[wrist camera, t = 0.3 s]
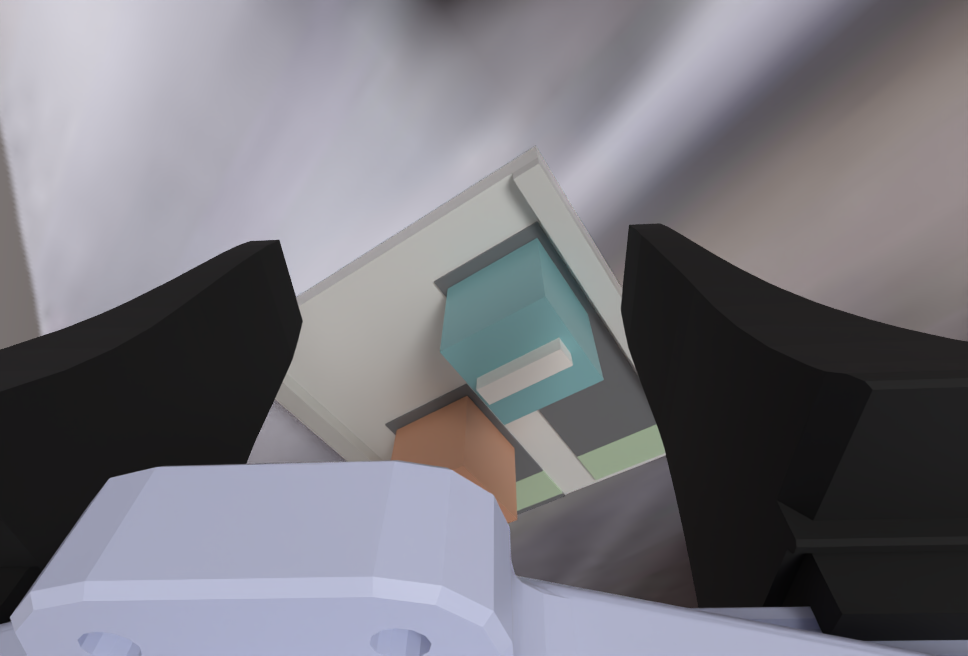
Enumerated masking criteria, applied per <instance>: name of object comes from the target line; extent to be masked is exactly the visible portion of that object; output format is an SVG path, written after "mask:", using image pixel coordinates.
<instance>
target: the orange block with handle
mask: <svg viewBox="0 0 968 656" xmlns="http://www.w3.org/2000/svg"><path fill="white" fill-rule="evenodd" d="M391 460H400V461H406V462H413V463H419V464H426V465H432V466H439V467H446V468H449V469H451V470H453V471H454V472H456V473H458V474H459V475H461V476H463V477H464V478H466V479H468V480H469V481H471V482H473V483H474V484H476V485H478V486H479V487H481V488H483V489H484V490H486V491H488V492H489V493H491V494H493V495H494V496H495V498H496V500H497V503H498V505H499V507H500V509H501V511H502V513H503V515H504V517H505V519H506V521H507V523H510V522H513V521H515V520H517V499H516V473H515V448H514V447H513V446H512V445H511V444H510V442H509V441H508V440H507V439H506V438H505V437H504V436H503V435H502V434H501V432H500V431H499V430H498V429H497V428H496V427H495V426H494V425H493V424H492V422H491V421H490V420H489V419H488V418H487V417H486V416H485V415H484V414H483V412H482V411H481V410H480V409H479V408H478V407H477V406H476V405H475V404H474V402H473V401H472V400H471V399H470V398H469V397H468V396H465V397H463V398H461V399H459V400H457V401H455V402H453V403H451V404H449V405H447V406H445V407H443V408H441V409H439V410H437V411H435V412H432V413H430V414H428V415H426V416H424V417H422V418H420V419H418V420H416V421H414V422H412V423H410V424H408V425H406V426H404V427H402V428H400V429H398V430H397V431H396V436H395V441H394V447H393V452H392V457H391Z"/></svg>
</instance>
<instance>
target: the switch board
mask: <svg viewBox="0 0 968 656" xmlns="http://www.w3.org/2000/svg"><path fill="white" fill-rule="evenodd" d="M536 238H538V240H539V241H540V243H541V244H542V246H543V247H544V249H545V250H546V252H547V253H548V255H549V256H550V258H551V259H552V261H553V262H554V264H555V265H556V267H557V268H558V270H559V271H560V273H561V274H562V276H563V277H564V279H565V280H566V282H567V283H568V285H569V286H570V288H571V289H572V291H573V292H574V294H575V296H576V297H577V299H578V300H579V302H580V303H581V305H582V306H583V308H584V309H585V311H586V312H587V314H588V317H589V321H590V325H591V329H592V333H593V337H594V342H595V346H596V350H597V354H598V358H599V362H600V366H601V371H602V375H603V379H604V380H603V381H600V382H598V383H596V384H594V385H592V386H589V387H587V388H585V389H583V390H581V391H578V392H576V393H574V394H572V395H570V396H567V397H565V398H563V399H561V400H559V401H556V402H554V403H552V404H550V405H548V406H545V407H543V408H541V409H539V410H537V411H534V412H532V413H530V414H528V415H526V416H523V417H521V418H519V419H517V420H515V421H512V422H510V423H508V424H506V425H504V424H503V423H502V422H501V421H500V420H499V419H498V417H497V416H496V415H495V414H494V413H493V412H492V411H491V410H490V408H489V407H488V406H487V405H486V404H485V403H484V402H483V401H482V399H481V398H480V397H479V396H478V395H477V394H476V393H475V391H474V390H473V389H472V388H471V387H470V386H469V385H468V384H467V382H466V381H465V380H464V379H463V378H462V377H461V376H460V375H459V373H458V372H457V371H456V370H455V369H454V368H453V367H452V365H451V364H450V363H449V362H448V361H447V360H446V359H445V358H444V356H443V355H442V354H441V353H440V346H441V338H442V330H443V322H444V314H445V306H446V298H447V291H448V288H450V287H452V286H453V285H455V284H457V283H459V282H460V281H462V280H464V279H466V278H467V277H469V276H471V275H473V274H474V273H476V272H478V271H480V270H481V269H483V268H485V267H487V266H488V265H490V264H492V263H494V262H495V261H497V260H499V259H501V258H502V257H504V256H506V255H508V254H509V253H511V252H513V251H515V250H516V249H518V248H520V247H522V246H523V245H525V244H527V243H529V242H530V241H532V240H534V239H536ZM622 290H623V289H622V288H621V286H620V285H619V283H618V281H617V280H616V278H615V276H614V275H613V273H612V271H611V270H610V268H609V266H608V265H607V263H606V261H605V260H604V258H603V256H602V255H601V253H600V251H599V250H598V248H597V246H596V245H595V243H594V241H593V240H592V238H591V236H590V235H589V233H588V232H587V230H586V228H585V227H584V225H583V223H582V222H581V220H580V218H579V217H578V215H577V213H576V212H575V210H574V208H573V207H572V205H571V203H570V202H569V200H568V198H567V197H566V195H565V193H564V192H563V190H562V188H561V187H560V185H559V183H558V182H557V180H556V179H555V177H554V175H553V174H552V172H551V170H550V169H549V167H548V165H547V164H546V162H545V160H544V159H543V157H542V155H541V154H540V152H539V150H538V149H537V147H536V146H535V147H533V148H532V149H530V150H528V151H527V152H525V153H524V154H522V155H520V156H519V157H517V158H516V159H514V160H513V161H511V162H509V163H508V164H506V165H505V166H503V167H501V168H500V169H498V170H497V171H495V172H494V173H492V174H490V175H489V176H487V177H486V178H484V179H483V180H481V181H479V182H478V183H476V184H475V185H473V186H471V187H470V188H468V189H467V190H465V191H464V192H462V193H460V194H459V195H457V196H456V197H454V198H452V199H451V200H449V201H448V202H446V203H445V204H443V205H441V206H440V207H438V208H437V209H435V210H433V211H432V212H430V213H429V214H427V215H426V216H424V217H422V218H421V219H419V220H418V221H416V222H415V223H413V224H411V225H410V226H408V227H407V228H405V229H403V230H402V231H400V232H399V233H397V234H396V235H394V236H392V237H391V238H389V239H388V240H386V241H384V242H383V243H381V244H380V245H378V246H377V247H375V248H373V249H372V250H370V251H369V252H367V253H365V254H364V255H362V256H361V257H359V258H358V259H356V260H354V261H353V262H351V263H350V264H348V265H347V266H345V267H343V268H342V269H340V270H339V271H337V272H335V273H334V274H332V275H331V276H329V277H328V278H326V279H324V280H323V281H321V282H320V283H318V284H316V285H315V286H313V287H312V288H310V289H309V290H307V291H305V292H304V293H302V294H301V295H299V296H297V297H296V299H297V303H298V306H299V310H300V313H301V316H302V320H303V323H302V327H301V331H300V335H299V339H298V343H297V346H296V350H295V353H294V357H293V360H292V362H291V364H290V367H289V369H288V371H287V373H286V376H285V378H284V380H283V382H282V384H281V387H280V389H279V391H278V393H277V395H276V397H275V400H276V401H277V402H278V403H280V404H281V405H282V406H283V407H284V408H285V409H287V410H288V411H289V412H290V413H291V414H292V415H294V416H295V417H296V418H297V419H298V420H299V421H301V422H302V423H303V424H304V425H305V426H306V427H308V428H309V429H310V430H311V431H312V432H313V433H315V434H316V435H317V436H318V437H319V438H320V439H322V440H323V441H324V442H325V443H326V444H327V445H329V446H330V447H331V448H332V449H333V450H334V451H336V452H337V453H338V454H339V455H340V456H341V457H343V458H344V459H345V460H346V461H385V460H391V457H392V452H393V447H394V441H395V436H396V431H397V430H398V429H400V428H402V427H404V426H406V425H408V424H410V423H412V422H414V421H416V420H418V419H420V418H422V417H424V416H426V415H428V414H430V413H432V412H435V411H437V410H439V409H441V408H443V407H445V406H447V405H449V404H451V403H453V402H455V401H457V400H459V399H461V398H463V397H465V396H468V397H469V398H470V399H471V400H472V401H473V402H474V404H475V405H476V406H477V407H478V408H479V409H480V410H481V411H482V412H483V414H484V415H485V416H486V417H487V418H488V419H489V420H490V421H491V422H492V424H493V425H494V426H495V427H496V428H497V429H498V430H499V431H500V432H501V434H502V435H503V436H504V437H505V438H506V439H507V440H508V441H509V442H510V444H511V445H512V446H513V447H514V448H515V473H516V499H517V515H518V514H521V513H523V512H526V511H528V510H531V509H533V508H536V507H539V506H541V505H544V504H546V503H549V502H551V501H554V500H557V499H559V498H562V497H564V496H565V494H568V493H570V492H573V491H575V490H578V489H580V488H583V487H586V486H588V485H591V484H593V483H596V482H598V481H601V480H604V479H606V478H609V477H611V476H614V475H616V474H619V473H621V472H624V471H627V470H629V469H632V468H634V467H637V466H639V465H642V464H645V463H647V462H650V461H652V460H655V459H657V458H660V457H662V456H665V455H666V453H665V449H664V446H663V442H662V439H661V436H660V433H659V430H658V427H657V424H656V422H655V419H654V416H653V414H652V411H651V408H650V406H649V403H648V400H647V398H646V395H645V392H644V390H643V387H642V384H641V382H640V379H639V376H638V374H637V371H636V368H635V365H634V363H633V360H632V357H631V354H630V351H629V348H628V344H627V340H626V335H625V330H624V325H623V320H622V315H621V300H622Z"/></svg>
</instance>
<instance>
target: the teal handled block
mask: <svg viewBox="0 0 968 656" xmlns="http://www.w3.org/2000/svg"><path fill="white" fill-rule="evenodd" d="M440 353H441V354H442V355H443V356H444V358H445V359H446V360H447V361H448V362H449V363H450V364H451V365H452V367H453V368H454V369H455V370H456V371H457V372H458V373H459V375H460V376H461V377H462V378H463V379H464V380H465V381H466V382H467V384H468V385H469V386H470V387H471V388H472V389H473V390H474V391H475V393H476V394H477V395H478V396H479V397H480V398H481V399H482V401H483V402H484V403H485V404H486V405H487V406H488V407H489V408H490V410H491V411H492V412H493V413H494V414H495V415H496V416H497V417H498V419H499V420H500V421H501V422H502V423H503V424H504V425H506V424H508V423H510V422H512V421H515V420H517V419H519V418H521V417H523V416H526V415H528V414H530V413H532V412H534V411H537V410H539V409H541V408H543V407H545V406H548V405H550V404H552V403H554V402H556V401H559V400H561V399H563V398H565V397H567V396H570V395H572V394H574V393H576V392H578V391H581V390H583V389H585V388H587V387H589V386H592V385H594V384H596V383H598V382H600V381H603V380H604V379H603V375H602V371H601V366H600V362H599V358H598V354H597V350H596V346H595V342H594V337H593V333H592V329H591V325H590V321H589V317H588V314H587V312H586V311H585V309H584V308H583V306H582V305H581V303H580V302H579V300H578V299H577V297H576V296H575V294H574V292H573V291H572V289H571V288H570V286H569V285H568V283H567V282H566V280H565V279H564V277H563V276H562V274H561V273H560V271H559V270H558V268H557V267H556V265H555V264H554V262H553V261H552V259H551V258H550V256H549V255H548V253H547V252H546V250H545V249H544V247H543V246H542V244H541V243H540V241H539V240H538V238H536V239H534V240H532V241H530V242H529V243H527V244H525V245H523V246H522V247H520V248H518V249H516V250H515V251H513V252H511V253H509V254H508V255H506V256H504V257H502V258H501V259H499V260H497V261H495V262H494V263H492V264H490V265H488V266H487V267H485V268H483V269H481V270H480V271H478V272H476V273H474V274H473V275H471V276H469V277H467V278H466V279H464V280H462V281H460V282H459V283H457V284H455V285H453V286H452V287H450V288H448V291H447V298H446V306H445V314H444V322H443V330H442V338H441V346H440Z"/></svg>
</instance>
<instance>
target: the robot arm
mask: <svg viewBox="0 0 968 656" xmlns="http://www.w3.org/2000/svg"><path fill="white" fill-rule="evenodd" d="M621 315H622V320H623V325H624V330H625V335H626V340H627V344H628V348H629V351H630V354H631V357H632V360H633V363H634V365H635V368H636V371H637V374H638V376H639V379H640V382H641V384H642V387H643V390H644V392H645V395H646V398H647V400H648V403H649V406H650V408H651V411H652V414H653V416H654V419H655V422H656V424H657V427H658V430H659V433H660V436H661V439H662V442H663V446H664V449H665V453H666V457H667V461H668V465H669V469H670V474H671V478H672V482H673V486H674V490H675V495H676V499H677V504H678V508H679V513H680V517H681V522H682V526H683V531H684V536H685V540H686V546H687V551H688V556H689V561H690V566H691V571H692V576H693V581H694V586H695V591H696V596H697V602H698V608H685V607H680V606H674V605H669V604H664V603H659V602H653V601H648V600H643V599H637V598H632V597H627V596H621V595H616V594H611V593H605V592H600V591H595V590H589V589H584V588H579V587H574V586H568V585H563V584H558V583H552V582H547V581H542V580H536V579H531V578H526V577H520V576H516V575H515V573H514V569H513V565H512V562H511V544H510V527H509V525H508V523H507V521H506V519H505V517H504V515H503V513H502V511H501V509H500V507H499V505H498V503H497V500H496V498H495V496H494V495H493V494H491V493H489V492H488V491H486V490H484V489H483V488H481V487H479V486H478V485H476V484H474V483H473V482H471V481H469V480H468V479H466V478H464V477H463V476H461V475H459V474H458V473H456V472H454V471H453V470H451V469H449V468H446V467H439V466H432V465H426V464H419V463H413V462H406V461H400V460H385V461H345V462H305V463H265V464H246V463H247V460H248V458H249V455H250V453H251V450H252V448H253V445H254V443H255V441H256V438H257V436H258V434H259V432H260V430H261V428H262V425H263V423H264V421H265V419H266V417H267V415H268V413H269V410H270V408H271V406H272V404H273V402H274V400H275V397H276V395H277V393H278V391H279V389H280V387H281V384H282V382H283V380H284V378H285V376H286V373H287V371H288V369H289V367H290V364H291V362H292V360H293V357H294V353H295V350H296V346H297V343H298V339H299V335H300V331H301V327H302V323H303V320H302V316H301V313H300V310H299V306H298V303H297V299H296V296H295V292H294V289H293V286H292V282H291V279H290V275H289V272H288V268H287V265H286V262H285V258H284V255H283V251H282V248H281V244H280V241H279V240H266V241H250V242H247V243H244V244H241V245H239V246H236V247H234V248H232V249H230V250H228V251H226V252H224V253H222V254H220V255H218V256H216V257H214V258H212V259H210V260H208V261H206V262H204V263H203V264H201V265H199V266H197V267H195V268H193V269H191V270H190V271H188V272H186V273H184V274H182V275H180V276H178V277H176V278H175V279H173V280H171V281H169V282H167V283H165V284H163V285H161V286H159V287H157V288H155V289H153V290H151V291H149V292H147V293H145V294H143V295H141V296H139V297H137V298H135V299H133V300H131V301H129V302H127V303H124V304H122V305H120V306H118V307H116V308H113V309H111V310H109V311H106V312H104V313H102V314H100V315H97V316H95V317H92V318H90V319H87V320H85V321H82V322H80V323H77V324H75V325H72V326H69V327H67V328H64V329H61V330H59V331H55V332H52V333H49V334H46V335H43V336H40V337H37V338H34V339H31V340H28V341H25V342H22V343H19V344H16V345H13V346H10V347H7V348H4V349H1V350H0V656H968V342H967V341H961V340H955V339H950V338H945V337H940V336H936V335H931V334H927V333H922V332H918V331H913V330H909V329H904V328H900V327H896V326H892V325H888V324H885V323H881V322H877V321H873V320H870V319H866V318H863V317H860V316H857V315H853V314H850V313H847V312H844V311H840V310H837V309H834V308H831V307H828V306H825V305H822V304H819V303H816V302H814V301H811V300H809V299H806V298H804V297H801V296H799V295H796V294H794V293H791V292H789V291H786V290H784V289H781V288H779V287H777V286H774V285H772V284H770V283H768V282H766V281H764V280H762V279H760V278H758V277H756V276H754V275H752V274H750V273H748V272H746V271H744V270H742V269H740V268H738V267H736V266H734V265H732V264H730V263H729V262H727V261H725V260H723V259H722V258H720V257H718V256H716V255H715V254H713V253H711V252H709V251H708V250H706V249H704V248H703V247H701V246H699V245H698V244H696V243H694V242H693V241H691V240H689V239H688V238H686V237H684V236H683V235H681V234H679V233H678V232H676V231H674V230H672V229H671V228H669V227H667V226H665V225H662V224H638V225H629V231H628V241H627V251H626V261H625V270H624V280H623V290H622V300H621Z"/></svg>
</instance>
